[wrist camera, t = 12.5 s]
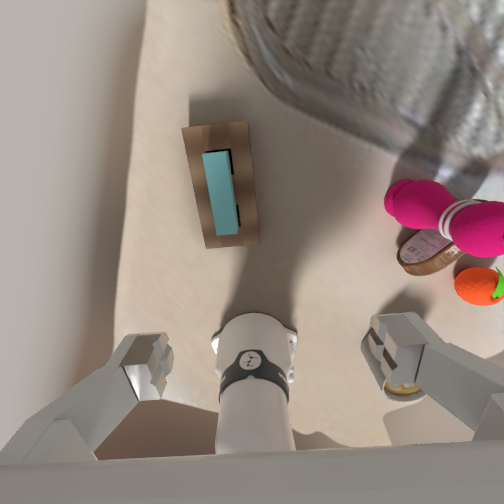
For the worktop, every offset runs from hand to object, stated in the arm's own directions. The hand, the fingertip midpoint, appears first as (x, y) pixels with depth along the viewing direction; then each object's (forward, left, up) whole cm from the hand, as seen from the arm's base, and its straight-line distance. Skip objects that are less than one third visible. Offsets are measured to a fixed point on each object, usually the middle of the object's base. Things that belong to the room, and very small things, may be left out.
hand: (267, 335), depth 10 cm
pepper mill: (-4, -24, -33) cm, 41 cm away
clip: (+1, +5, -33) cm, 33 cm away
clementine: (-20, -38, -33) cm, 54 cm away
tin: (-10, -29, -33) cm, 45 cm away
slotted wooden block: (+1, +5, -33) cm, 33 cm away
